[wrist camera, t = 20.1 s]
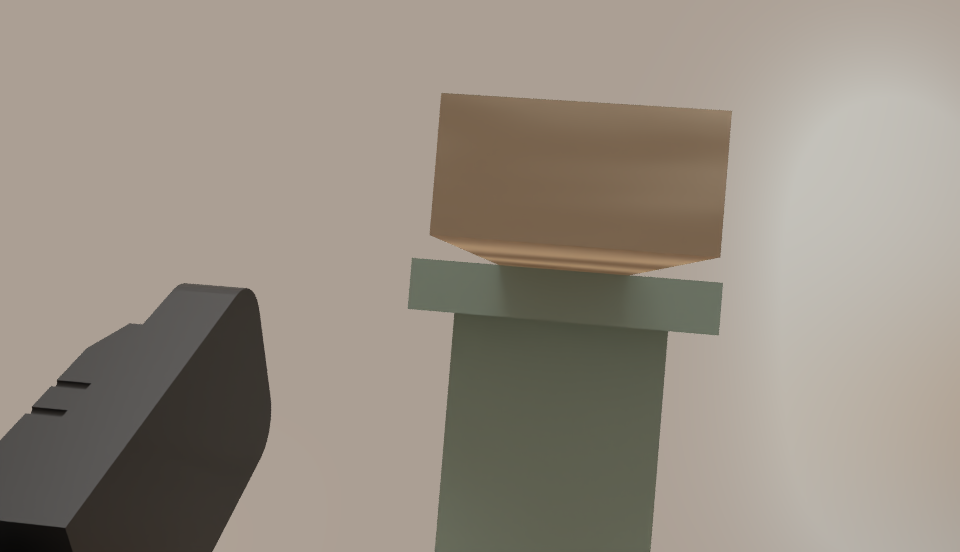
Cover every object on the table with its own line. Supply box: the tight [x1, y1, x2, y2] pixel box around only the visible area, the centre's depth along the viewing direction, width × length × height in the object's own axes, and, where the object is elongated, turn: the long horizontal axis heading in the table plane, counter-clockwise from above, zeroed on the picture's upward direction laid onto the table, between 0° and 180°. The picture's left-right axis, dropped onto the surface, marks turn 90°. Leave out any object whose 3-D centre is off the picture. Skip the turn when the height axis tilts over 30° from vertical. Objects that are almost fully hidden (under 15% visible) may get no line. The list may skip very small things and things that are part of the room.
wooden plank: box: [430, 93, 732, 275], centre depth 28 cm, size 28×5×2 cm, turn 175°
